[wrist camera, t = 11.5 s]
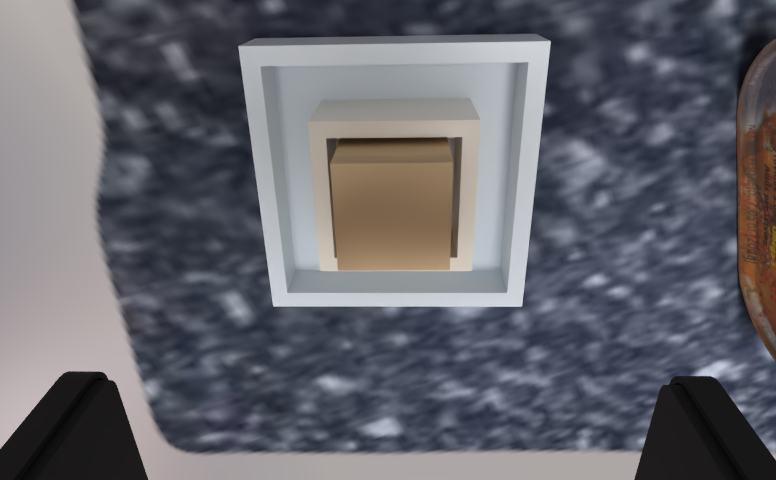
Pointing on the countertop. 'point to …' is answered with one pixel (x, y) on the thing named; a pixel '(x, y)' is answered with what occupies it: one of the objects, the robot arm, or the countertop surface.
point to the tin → (758, 193)
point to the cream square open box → (398, 122)
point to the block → (392, 203)
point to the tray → (397, 81)
